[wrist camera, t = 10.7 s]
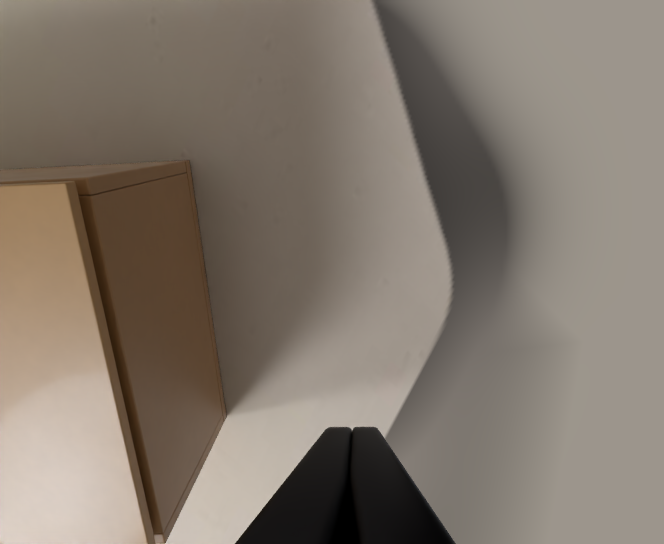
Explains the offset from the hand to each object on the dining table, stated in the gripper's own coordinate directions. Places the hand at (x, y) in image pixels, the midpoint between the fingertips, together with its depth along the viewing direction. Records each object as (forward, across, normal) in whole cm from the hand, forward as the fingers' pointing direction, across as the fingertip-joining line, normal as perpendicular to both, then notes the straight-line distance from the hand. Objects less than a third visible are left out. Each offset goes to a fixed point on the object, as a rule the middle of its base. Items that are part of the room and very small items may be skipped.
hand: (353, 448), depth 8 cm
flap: (+5, +11, +2) cm, 12 cm away
